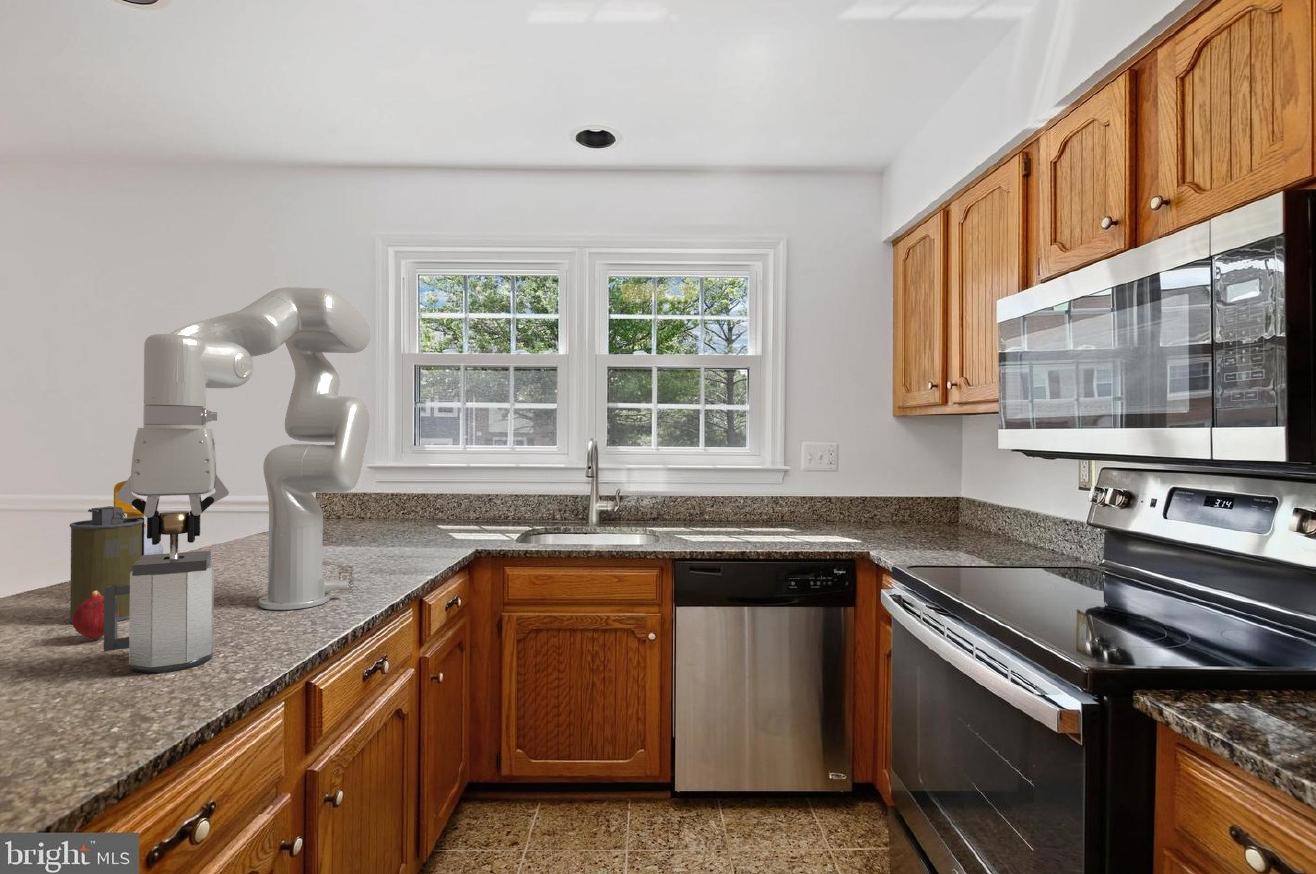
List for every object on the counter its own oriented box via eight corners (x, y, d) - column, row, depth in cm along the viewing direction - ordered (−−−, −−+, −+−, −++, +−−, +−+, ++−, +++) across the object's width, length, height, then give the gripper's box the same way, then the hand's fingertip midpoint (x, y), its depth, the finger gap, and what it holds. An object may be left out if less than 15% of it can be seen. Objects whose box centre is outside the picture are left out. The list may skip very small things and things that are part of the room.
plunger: (201, 634, 104) (203, 509, 104) (198, 646, 99) (199, 514, 98) (148, 640, 101) (150, 511, 101) (141, 653, 95) (143, 516, 95)
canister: (92, 627, 116) (93, 512, 115) (54, 621, 119) (55, 508, 119) (158, 612, 126) (159, 505, 126) (121, 606, 129) (122, 503, 129)
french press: (214, 647, 106) (215, 549, 106) (210, 666, 98) (211, 560, 98) (111, 660, 100) (112, 556, 100) (97, 681, 92) (98, 568, 91)
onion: (127, 637, 111) (127, 588, 111) (87, 647, 106) (88, 596, 105) (103, 633, 113) (103, 585, 113) (63, 643, 107) (63, 593, 107)
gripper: (241, 420, 107) (240, 535, 107) (109, 417, 99) (107, 542, 99) (240, 419, 100) (239, 542, 101) (97, 417, 92) (96, 550, 92)
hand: (174, 541), depth 100 cm, fingers closed on plunger, 3 cm apart
